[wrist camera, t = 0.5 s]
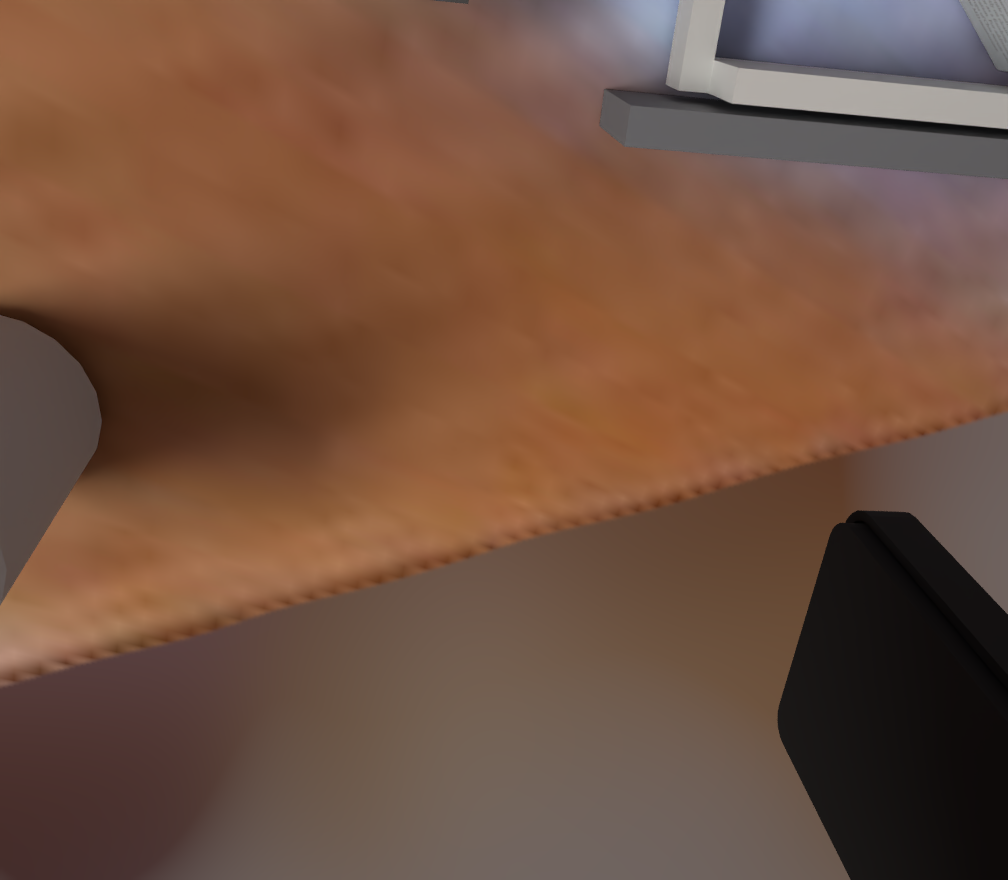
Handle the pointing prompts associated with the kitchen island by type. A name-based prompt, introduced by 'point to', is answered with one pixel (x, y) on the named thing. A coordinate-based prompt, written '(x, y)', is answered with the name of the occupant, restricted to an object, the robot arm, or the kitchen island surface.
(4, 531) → the can
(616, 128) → the tray
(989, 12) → the skincare box
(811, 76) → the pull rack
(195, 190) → the kitchen island surface
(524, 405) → the kitchen island surface
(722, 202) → the kitchen island surface
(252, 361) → the kitchen island surface
